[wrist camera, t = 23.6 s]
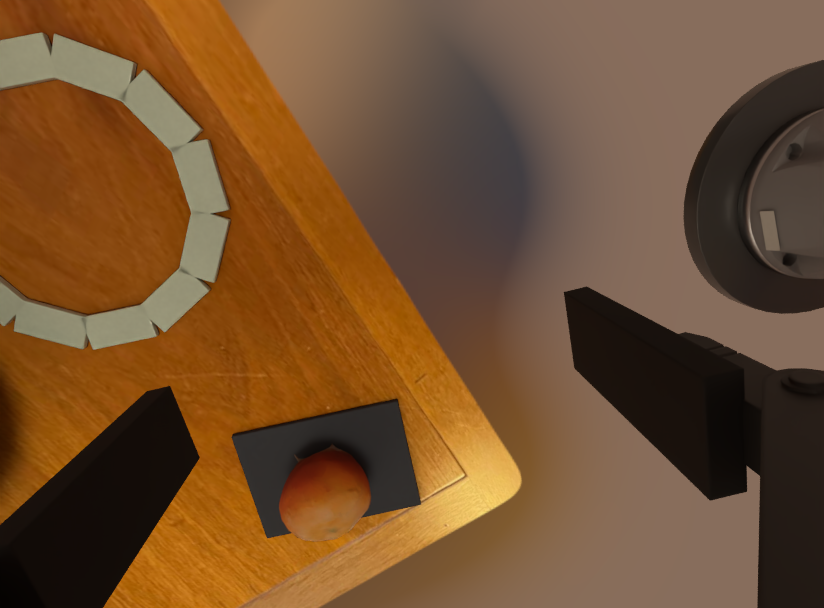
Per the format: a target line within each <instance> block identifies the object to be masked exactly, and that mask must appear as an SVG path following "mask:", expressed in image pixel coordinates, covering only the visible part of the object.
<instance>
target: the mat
mask: <svg viewBox="0 0 824 608" xmlns="http://www.w3.org/2000/svg"><path fill="white" fill-rule="evenodd" d="M232 440H233V442H234V445H235V448H236V451H237V454H238V457H239V460H240V462H241V465H242V468H243V471H244V474H245V477H246V480H247V482H248V485H249V488H250V491H251V494H252V497H253V499H254V502H255V505H256V508H257V511H258V514H259V517H260V519H261V522H262V525H263V528H264V531H265V534H266V537H267V538H271V537H275V536H280V535H285V534H289V533H291V532H290V531H289V530H288V529H287V527H286V526H285V524H284V522H283V521H282V519H281V514H280V510H279V502H280V498H281V494H282V490H283V487H284V485H285V483H286V480H287V478H288V476H289V474H290V473H291V472H292V470H293V469H294V467H295V466H296V465H297V463H298V461H297V459H296V457H295V456H294V455H296V456H297V457H298V458H299V459H304V458H307V457H310V456H311V455H313V454H315V453H318V452H320V451H323V450H325V449H327V448H329V447H330V446H331V445H332V443H333V445H334V446H335V447H336V448H338V449H340V450H343V451H345V452H347V453H349V454H350V455H352V456H353V458H354V459H355V460H356V461H357V462H358V463H359V465H360V466H361V467H362V469H363V470H364V472H365V474H366V476H367V479H368V482H369V486H370V492H371V502H370V505H369V508H368V510H367V511H366V512H365V513H364V515H363V516H362V517H366V516H371V515H375V514H380V513H385V512H389V511H394V510H398V509H403V508H407V507H412V506H416V505H421V501H420V497H419V492H418V488H417V483H416V479H415V475H414V470H413V466H412V461H411V457H410V453H409V448H408V444H407V440H406V435H405V431H404V426H403V422H402V418H401V413H400V409H399V404H398V400H397V399H395V400H390V401H386V402H381V403H376V404H372V405H367V406H362V407H358V408H353V409H348V410H344V411H339V412H334V413H330V414H325V415H320V416H316V417H311V418H306V419H302V420H297V421H292V422H288V423H283V424H278V425H274V426H269V427H264V428H260V429H255V430H251V431H246V432H241V433H237V434H233V435H232ZM362 517H361V518H362Z"/></svg>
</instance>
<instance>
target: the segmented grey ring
mask: <svg viewBox="0 0 824 608" xmlns="http://www.w3.org/2000/svg"><path fill="white" fill-rule="evenodd" d="M136 67H137V64H136V63H134V62H132V61H129V60H126V59H124V58H121V57H118V56H115V55H113V54H110V53H107V52H104V51H101V50H99V49H96V48H93V47H90V46H88V45H85V44H82V43H79V42H77V41H74V40H71V39H68V38H65V37H63V36H60V35H57V34H54V37H53V45H52V46H51V44H50V41H49V38H48V36H47V34H44V33H42V32H41V33H36V34H31V35H26V36H20V37H15V38H10V39H5V40H0V91H1V90H6V89H11V88H16V87H21V86H26V85H31V84H36V83H41V82H46V81H51V80H57V79H59V80H62V81H65V82H67V83H70V84H73V85H76V86H79V87H82V88H85V89H88V90H90V91H93V92H96V93H99V94H102V95H105V96H108V97H111V98H113V99H116V100H119V101H122V102H123V103H124V104H125V105H126V106H127V107H128V108H129V109H130V110H131V111H132V112H133V113H134V114H135V115H136V116H137V117H138V118H139V119H140V120H141V122H142V123H143V124H144V125H145V126H146V127H147V128H148V129H149V130H150V131H151V132H152V133H153V134H154V135H155V136H156V137H157V138H158V139H159V140H160V141H161V142H162V143H163V144H164V145H165V146H166V147H167V148H168V149H169V150H170V151H171V152H172V155H173V158H174V161H175V164H176V168H177V171H178V174H179V177H180V180H181V183H182V186H183V189H184V192H185V195H186V198H187V201H188V204H189V207H190V210H191V216H190V221H189V225H188V230H187V234H186V239H185V243H184V248H183V253H182V257H181V262H180V266H179V268H178V269H177V270H176V271H175V272H174V273H173V274H172V275H171V276H170V277H169V278H168V279H167V280H166V281H165V282H164V283H163V284H162V285H161V286H160V287H159V288H158V289H157V290H155V291H154V292H153V293H152V294H151V295H150V296H149V297H148V298H147V299H146V300H145V301H144V302H143V303H142V304H139V305H134V306H129V307H124V308H119V309H114V310H110V311H105V312H100V313H95V314H90V315H85V314H82V313H78V312H75V311H71V310H67V309H64V308H60V307H56V306H53V305H49V304H45V303H42V302H38V301H34V300H31V299H28V298H26V297H25V296H24V295H23V294H22V293H20V292H19V291H18V290H17V289H15V288H14V287H13V286H12V285H11V284H9V283H8V282H7V281H6V280H5V279H3V278H2V277H1V276H0V324H1V325H3V326H6V325H8V324H10V323H11V322H12V321H13V320H14V319H15V326H14V331H15V332H19V333H22V334H26V335H30V336H34V337H38V338H41V339H45V340H49V341H53V342H57V343H61V344H64V345H68V346H72V347H76V348H80V349H84V348H86V347H87V344H88V339H89V341H90V344H91V346H92V348H93V350H95V349H99V348H104V347H109V346H114V345H118V344H123V343H128V342H133V341H137V340H142V339H147V338H152V337H156V336H158V335H159V332H158V330H157V327H156V325H157V326H158V327H159V328H160V329H162V330H163V331H164V332H166V331H167V330H168V329H170V328H171V327H172V326H173V325H174V324H175V323H176V322H177V321H178V320H179V319H180V318H181V317H182V316H183V315H185V314H186V313H187V312H188V311H189V310H190V309H191V308H192V307H193V306H194V305H195V304H196V303H197V302H198V301H199V300H201V299H202V298H203V297H204V296H205V295H206V294H207V293H208V292H209V291H210V290H211V288H210V287H209V286H208V285H207V284H205V283H204V282H203V281H202V280H201V279H203V280H206V281H210V282H213V283H214V282H216V279H217V275H218V271H219V267H220V263H221V259H222V255H223V250H224V246H225V242H226V238H227V234H228V230H229V226H230V221H231V219H228V218H225V217H222V216H219V215H216V214H213V213H217V212H221V211H226V210H230V206H229V203H228V199H227V196H226V193H225V189H224V186H223V183H222V179H221V176H220V173H219V170H218V166H217V163H216V160H215V156H214V153H213V150H212V146H211V143H210V140H208V139H205V140H200V141H195V142H192V141H193V140H194V139H195V138H196V137H197V136H198V135H199V134H200V133H201V132H202V131H203V129H202V127H201V126H200V125H199V124H198V123H197V122H196V121H195V120H194V119H193V118H192V117H191V116H190V115H189V114H188V113H187V112H186V111H185V110H184V109H183V108H182V106H181V105H180V104H179V103H178V102H177V101H176V100H175V99H174V98H173V97H172V96H171V95H170V94H169V93H168V92H167V91H166V90H165V89H164V88H163V87H162V86H161V84H160V83H159V82H158V81H157V80H156V79H155V78H154V77H153V76H152V75H151V74H150V73H149V72H148V71H146V70H143V71H142V72H141V73H140V74H139V75H138V76H137V77H136V78H135V73H136ZM134 78H135V79H134Z"/></svg>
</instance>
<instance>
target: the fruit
mask: <svg viewBox="0 0 824 608" xmlns="http://www.w3.org/2000/svg"><path fill="white" fill-rule="evenodd" d="M294 456H295V457H296V459H297V461H298V463H297V465H296V466H295V467H294V469H293V470H292V472H291V473H290V474H289V476H288V478H287V480H286V483H285V485H284V487H283V490H282V494H281V498H280V502H279V510H280V514H281V519H282V521H283V522H284V524H285V526H286V527H287V529H288V530H289V531H290V532H291V533H293V534H294V535H295V536H296V537H297V538H300V539H302V540H306V541H324V540H330V539H336V538H338V537H340V536H342V535H343V534H346V533H347V532H349V531H350V530H351V529H352V528H353V526H354V525H355V524H356V523H357V522H358V521H359V520H360V518H361V517H362V516H363V515H364V513H365V512H366V511H367V510H368V508H369V505H370V502H371V492H370V486H369V482H368V479H367V476H366V474H365V472H364V470H363V469H362V467H361V466H360V465H359V463H358V462H357V461H356V460H355V459H354V458H353V456H352V455H350V454H349V453H347V452H345V451H343V450H340V449H338V448H336V447H335V446H334V445H333V443H332V445H331V446H330V447H329V448H327V449H325V450H323V451H320V452H318V453H315V454H313V455H311V456H310V457H307V458H304V459H299V458H298V457H297V456H296V455H294Z"/></svg>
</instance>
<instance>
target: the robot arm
mask: <svg viewBox="0 0 824 608" xmlns="http://www.w3.org/2000/svg"><path fill="white" fill-rule="evenodd" d="M738 224H739V229H740V233H741V236H742V239H743V242H744V244H745V246H746V248H747V249H748V251H749V252H750V254H751V255H752V256H753V257H754V258H755V259H756V260H757V261H758V262H759V263H760V264H762V265H763V266H764V267H766V268H768V269H770V270H772V271H774V272H777V273H780V274H784V275H788V276H793V277H797V278H805V279H824V108H819V109H815V110H812V111H809V112H806V113H804V114H802V115H800V116H798V117H796V118H794V119H792V120H791V121H789V122H788V123H786V124H785V125H784V126H782V127H781V128H780V129H779V130H777V131H776V132H775V133H774V134H773V135H772V136H771V137H770V138H769V139H768V140H767V141H766V142H765V143H764V145H763V146H762V147H761V148H760V150H759V151H758V152H757V154H756V155H755V157H754V159H753V160H752V162H751V164H750V166H749V168H748V170H747V172H746V174H745V177H744V180H743V183H742V186H741V190H740V194H739V200H738ZM564 296H565V303H566V311H567V317H568V324H569V332H570V340H571V347H572V353H573V361H574V368H575V369H576V370H577V371H578V372H579V373H580V374H581V375H582V376H583V377H584V378H585V379H586V380H587V381H588V382H589V383H590V384H591V385H592V386H593V387H594V388H595V389H596V390H597V391H598V392H599V393H600V394H601V395H602V396H603V397H604V398H606V399H607V400H608V401H609V402H610V403H611V404H612V405H613V406H614V407H615V408H616V409H617V410H618V411H619V412H620V413H621V414H622V415H623V416H624V417H625V418H626V419H627V420H628V421H629V422H630V423H631V424H632V425H633V426H634V427H635V428H636V429H637V430H638V431H639V432H640V433H642V435H643V436H644V437H645V438H647V439H648V440H649V441H650V442H651V443H652V444H653V445H654V446H655V447H656V448H657V449H658V450H659V451H660V452H661V453H662V454H663V455H664V456H665V457H666V458H667V459H668V460H669V461H670V462H671V463H672V464H673V465H674V466H675V467H676V468H677V469H678V470H679V471H680V472H681V473H682V474H683V475H685V476H686V477H687V478H688V479H689V480H690V481H691V482H692V483H693V484H694V485H695V486H696V487H697V488H698V489H699V490H700V491H701V492H702V493H703V494H704V495H705V496H706V497H707V498H708V499H709V500H714V499H718V498H723V497H726V496H731V495H735V494H739V493H743V492H747V471H746V470H747V469H746V465H747V466H748V467H749V468H751V469H752V470H753V471H754V472H756V473H757V474H758V475H760V513H759V515H760V516H759V562H758V563H759V564H758V608H824V371H821V370H813V369H784V370H778V371H776V370H774V369H772V368H770V367H768V366H766V365H764V364H762V363H759V362H758V361H755V360H753V359H751V358H749V357H747V356H745V355H743V354H741V353H738V354H737V351H735V350H732V349H730V348H729V347H724V346H723V345H722V344H720V343H718V342H716V341H714V340H712V339H710V338H708V337H704V336H700V335H695V334H691V333H686V332H685V333H681V334H677V333H675V332H673V331H671V330H669V329H667V328H665V327H663V326H661V325H659V324H657V323H655V322H654V321H652V320H650V319H648V318H646V317H644V316H642V315H640V314H638V313H636V312H634V311H633V310H631V309H629V308H627V307H625V306H623V305H621V304H619V303H617V302H615V301H613V300H611V299H610V298H608V297H606V296H604V295H601V294H600V293H598V292H596V291H594V290H592V289H590V288H588V287H583V288H580V289H575V290H571V291H567V292H564ZM199 458H200V457H199V455H198V452H197V450H196V448H195V445H194V443H193V440H192V438H191V436H190V433H189V431H188V428H187V426H186V423H185V421H184V419H183V416H182V414H181V411H180V409H179V407H178V404H177V402H176V399H175V397H174V394H173V392H172V390H171V387H170V386H168V387H163V388H159V389H155V390H151V391H147V392H146V393H145V394H144V395H142V396H141V397H140V398H139V399H138V400H137V401H136V402H135V403H134V404H133V405H131V406H130V407H129V408H128V409H127V410H126V411H125V412H124V413H123V414H122V415H121V416H119V417H118V418H117V419H116V420H115V421H114V422H113V423H112V424H111V425H110V426H108V427H107V428H106V429H105V430H104V431H103V432H102V433H101V434H100V435H99V436H97V437H96V438H95V439H94V440H93V441H92V442H91V443H90V444H89V445H88V446H87V447H85V448H84V449H83V450H82V451H81V452H80V453H79V454H78V455H77V456H76V457H74V458H73V459H72V460H71V461H70V462H69V463H68V464H67V465H66V466H65V467H63V468H62V469H61V470H60V471H59V472H58V473H57V474H56V475H55V476H54V477H53V478H51V479H50V480H49V481H48V482H47V483H46V484H45V485H44V486H43V487H42V488H40V489H39V490H38V491H37V492H36V493H35V494H34V495H33V496H32V497H31V498H29V499H28V500H27V501H26V502H25V503H24V504H23V505H22V506H21V507H20V508H19V509H17V510H16V511H15V512H14V513H13V514H12V515H11V516H10V517H9V518H8V519H6V520H5V521H4V522H3V523H2V524H1V525H0V608H103V607H104V605H105V604H106V602H107V600H108V599H109V597H110V596H111V594H112V593H113V591H114V590H115V588H116V587H117V585H118V583H119V582H120V580H121V579H122V577H123V576H124V574H125V573H126V571H127V570H128V568H129V566H130V565H131V563H132V562H133V560H134V559H135V557H136V556H137V554H138V553H139V551H140V549H141V548H142V546H143V545H144V543H145V542H146V540H147V539H148V537H149V536H150V534H151V532H152V531H153V529H154V528H155V526H156V525H157V523H158V522H159V520H160V518H161V517H162V515H163V514H164V512H165V511H166V509H167V508H168V506H169V505H170V503H171V501H172V500H173V498H174V497H175V495H176V494H177V492H178V491H179V489H180V488H181V486H182V484H183V483H184V481H185V480H186V478H187V477H188V475H189V474H190V472H191V471H192V469H193V467H194V466H195V464H196V463H197V461H198V460H199Z"/></svg>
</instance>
